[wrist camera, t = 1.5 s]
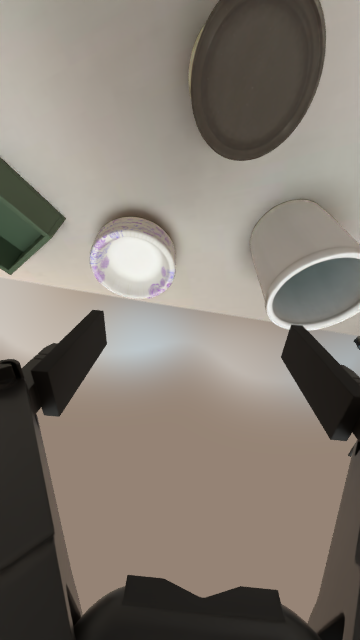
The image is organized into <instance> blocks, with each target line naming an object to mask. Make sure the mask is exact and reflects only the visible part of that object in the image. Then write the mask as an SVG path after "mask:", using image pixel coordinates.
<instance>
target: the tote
mask: <svg viewBox="0 0 360 640" xmlns="http://www.w3.org/2000/svg"><path fill="white" fill-rule="evenodd" d="M65 219H66V218H65V217H64V216H62V215H61V214H60V213H59V212H58V211H57V210H56V209H55V208H54V207H53V206H52V205H51V204H50V203H48V202H47V201H46V200H45V199H44V198H43V197H42V196H41V195H40V194H39V193H38V192H37V191H36V190H34V189H33V188H32V187H31V186H30V185H29V184H28V183H27V182H26V181H25V180H24V179H23V178H22V177H20V176H19V175H18V174H17V173H16V172H15V171H14V170H13V169H12V168H11V167H10V166H9V165H8V164H7V163H5V162H4V161H3V160H2V159H1V158H0V269H2V270H3V271H5V272H7V273H8V274H10V275H11V274H12V273H13V272H15V271H16V270H17V269H18V268H19V267H20V266H21V265H22V264H23V263H24V262H26V261H27V260H28V259H29V258H30V257H31V256H32V255H33V254H34V253H36V252H37V251H38V250H39V249H40V248H41V247H42V246H43V245H44V244H45V243H47V242H48V241H49V240H50V239H51V238H52V237H53V235H54V234H55V233H56V231H57V230H58V229H59V227H60V226H61V224H62V223H63V222H64V220H65Z"/></svg>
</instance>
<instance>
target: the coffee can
mask: <svg viewBox="0 0 360 640" xmlns="http://www.w3.org/2000/svg"><path fill="white" fill-rule="evenodd" d="M325 48H326V29H325V21H324V15H323V10H322V7H321V3H320V1H319V0H219V2H218V3H217V4H216V6H215V7H214V9H213V11H212V12H211V14H210V16H209V18H208V20H207V22H206V23H205V25H204V26H203V28H202V29H201V31H200V33H199V34H198V37H197V39H196V41H195V44H194V47H193V50H192V54H191V58H190V64H189V73H188V85H189V92H190V97H191V101H192V108H193V114H194V118H195V121H196V124H197V127H198V129H199V131H200V133H201V135H202V137H203V138H204V140H205V141H206V143H207V144H208V145H209V146H210V147H211V148H212V149H213V150H214V151H215V152H216V153H218V154H219V155H221V156H223V157H225V158H228V159H231V160H237V161H238V160H239V161H244V160H252V159H255V158H259V157H261V156H263V155H265V154H267V153H269V152H271V151H272V150H274V149H275V148H276V147H278V146H279V145H280V144H281V143H282V142H284V141H285V140H286V139H287V138H288V137H289V136H290V134H291V133H292V132H293V131H294V130H295V128H296V127H297V126H298V124H299V123H300V122H301V120H302V118H303V117H304V115H305V114H306V112H307V110H308V108H309V106H310V104H311V102H312V100H313V97H314V95H315V93H316V90H317V87H318V84H319V81H320V77H321V74H322V69H323V64H324V58H325Z"/></svg>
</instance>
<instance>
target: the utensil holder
mask: <svg viewBox="0 0 360 640" xmlns="http://www.w3.org/2000/svg"><path fill="white" fill-rule="evenodd" d="M250 249H251V253H252V258H253V262H254V266H255V269H256V272H257V276H258V279H259V282H260V286H261V289H262V292H263V296H264V299H265V308H266V312H267V315H268V317H269V318H270V320H271V321H272V322H273V323H274V324H276V325H278V326H279V327H282V328H285V329H289V330H290V327H291V325H302V326H303V327H304V328H305V329H306V330H316V329H321V328H325V327H328V326H331V325H334V324H337V323H339V322H342V321H344V320H346V319H348V318H350V317H352V316H354V315H355V314H357V313H358V312H360V244H359V243H358V242H357V241H356V240H355V239H354V238H353V237H352V236H351V235H350V234H349V233H348V232H347V231H346V230H345V229H344V228H343V227H342V226H341V225H340V224H339V223H338V222H337V221H336V220H335V219H334V218H333V217H332V216H331V215H329V214H328V213H327V212H326V211H325V210H324V209H323V208H322V207H320V206H319V205H318V204H316V203H314V202H312V201H308V200H292V201H288V202H285V203H282V204H280V205H278V206H276V207H274V208H273V209H271V210H270V211H269V212H267V213H266V214H265V215H264V216H263V217H262V218H261V219H260V220H259V222H258V223H257V224H256V226H255V228H254V230H253V232H252V235H251V239H250Z"/></svg>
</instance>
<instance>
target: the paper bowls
mask: <svg viewBox="0 0 360 640" xmlns="http://www.w3.org/2000/svg"><path fill="white" fill-rule="evenodd" d="M90 265H91V269H92V271H93V274H94V276H95V277H96V279H97V280H98V281H99V282H100V283H101V284H102V285H103V286H104V287H105V288H107V289H108V290H109V291H111V292H113V293H115V294H117V295H119V296H122V297H125V298H130V299H147V298H152V297H155V296H157V295H159V294H161V293H163V292H164V291H165V290H166V289H167V288H168V287H169V286H170V285H171V283H172V282H173V280H174V277H175V271H176V253H175V248H174V245H173V242H172V241H171V239H170V237H169V236H168V235H167V233H166V232H165V231H164V230H163V229H162V228H161V227H159V226H158V225H157V224H155V223H153V222H151V221H149V220H146V219H143V218H137V217H123V218H118V219H115V220H112V221H111V222H109V223H107V224H106V225H105V226H104V227H103V228H102V229H101V230H100V232H99V233H98V235H97V237H96V239H95V241H94V244H93V246H92V248H91V252H90Z"/></svg>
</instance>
